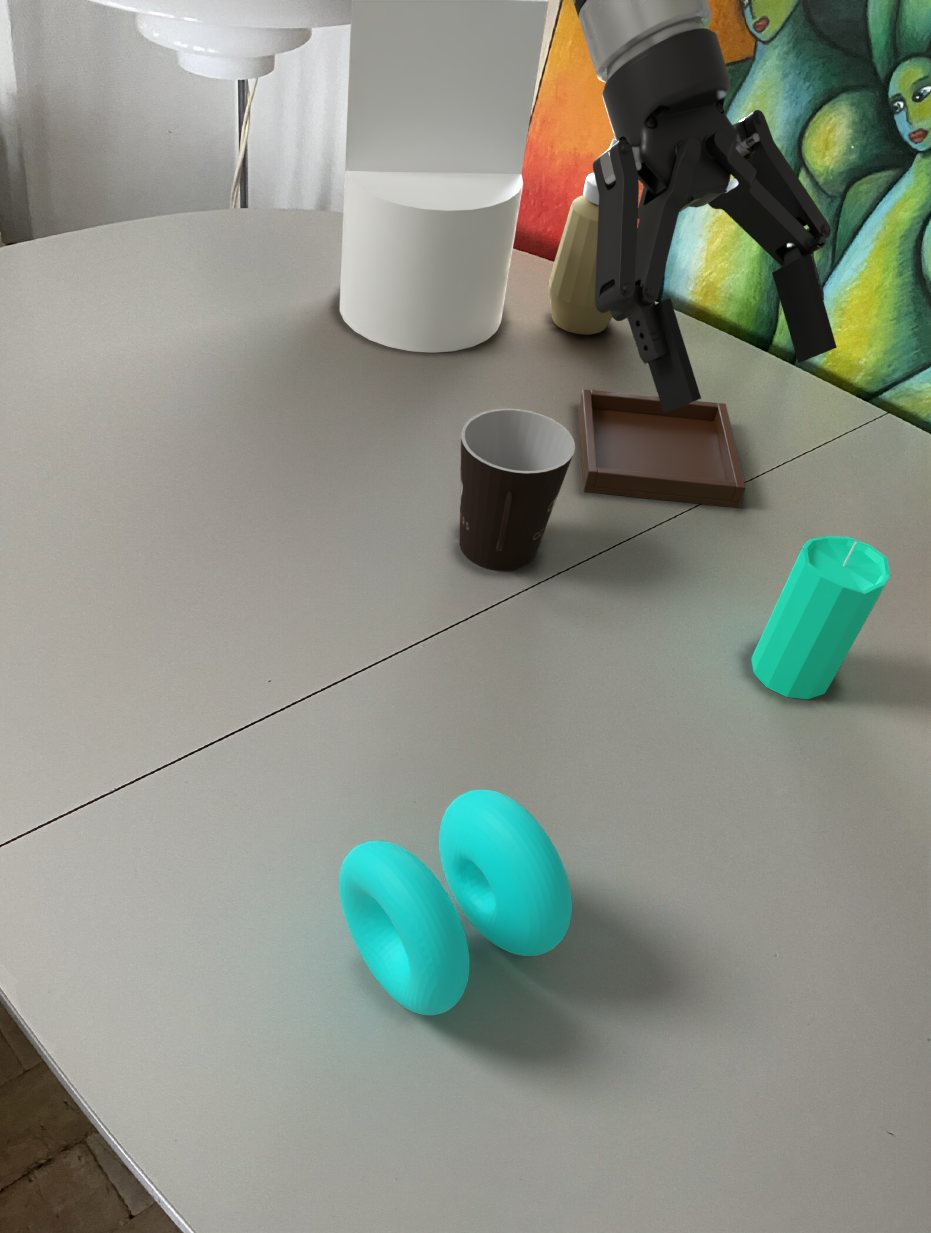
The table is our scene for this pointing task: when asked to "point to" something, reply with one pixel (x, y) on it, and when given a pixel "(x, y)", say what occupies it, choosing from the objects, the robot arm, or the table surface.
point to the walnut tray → (658, 449)
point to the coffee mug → (509, 484)
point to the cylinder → (435, 166)
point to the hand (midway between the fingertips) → (752, 380)
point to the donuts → (482, 886)
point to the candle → (819, 615)
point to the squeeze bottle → (578, 267)
